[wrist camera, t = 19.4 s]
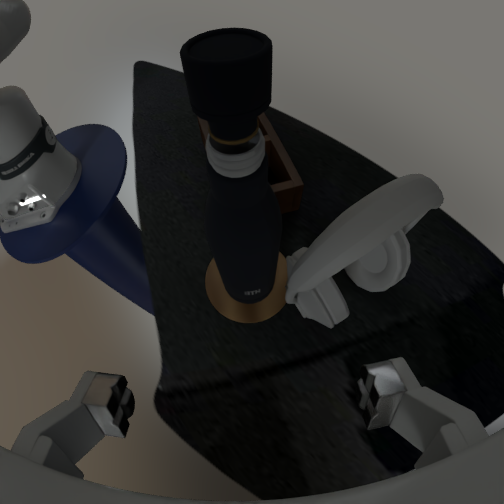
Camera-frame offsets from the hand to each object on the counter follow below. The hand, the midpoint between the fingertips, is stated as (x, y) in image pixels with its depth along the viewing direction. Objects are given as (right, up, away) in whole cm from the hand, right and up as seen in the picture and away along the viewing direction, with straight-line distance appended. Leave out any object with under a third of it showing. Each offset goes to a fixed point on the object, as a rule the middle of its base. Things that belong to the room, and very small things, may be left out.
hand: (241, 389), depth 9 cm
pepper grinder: (0, +1, +28) cm, 28 cm away
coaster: (0, +1, +29) cm, 29 cm away
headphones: (+12, +1, +28) cm, 31 cm away
